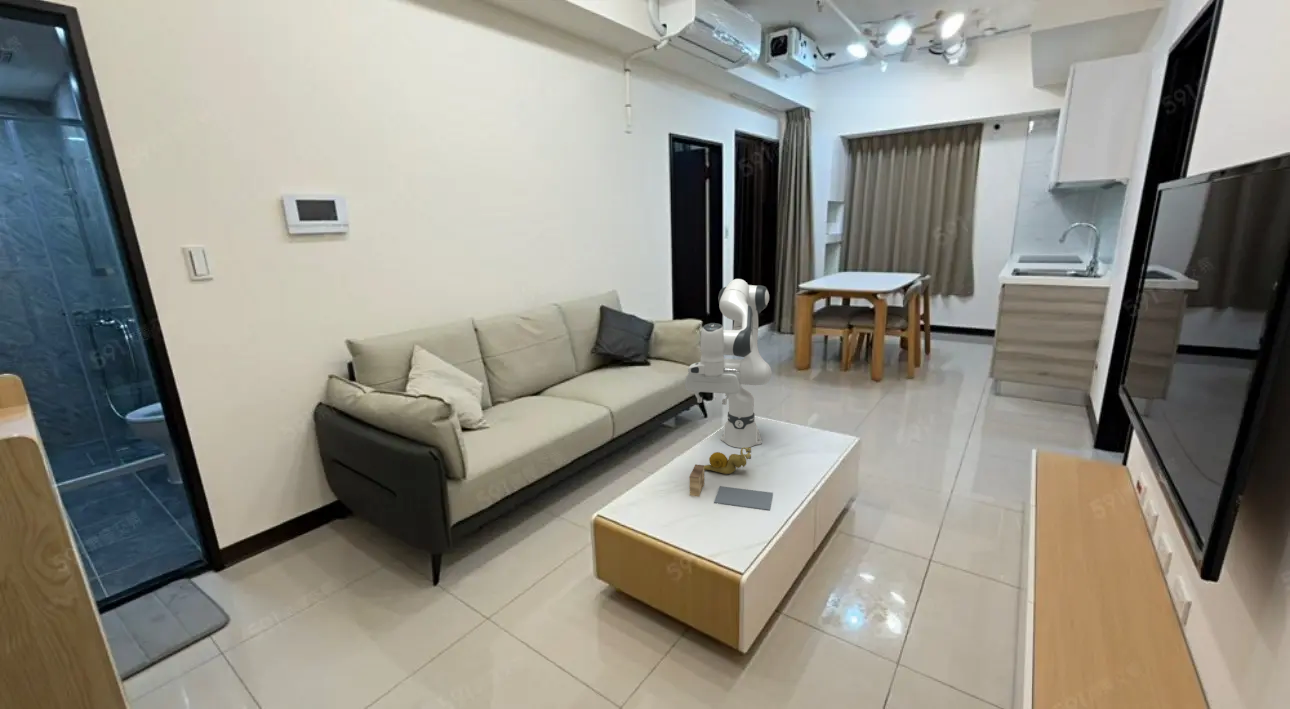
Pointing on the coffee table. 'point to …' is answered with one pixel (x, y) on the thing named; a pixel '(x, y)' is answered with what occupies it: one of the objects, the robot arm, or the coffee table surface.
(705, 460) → the coffee table surface
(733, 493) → the mat
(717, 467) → the toy
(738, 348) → the robot arm
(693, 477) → the slab
